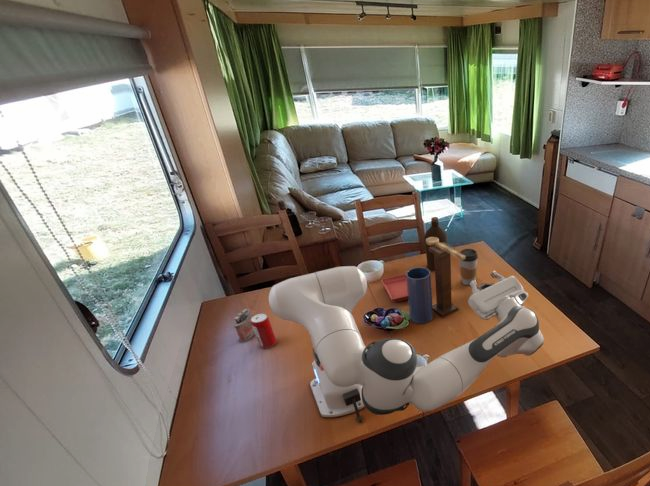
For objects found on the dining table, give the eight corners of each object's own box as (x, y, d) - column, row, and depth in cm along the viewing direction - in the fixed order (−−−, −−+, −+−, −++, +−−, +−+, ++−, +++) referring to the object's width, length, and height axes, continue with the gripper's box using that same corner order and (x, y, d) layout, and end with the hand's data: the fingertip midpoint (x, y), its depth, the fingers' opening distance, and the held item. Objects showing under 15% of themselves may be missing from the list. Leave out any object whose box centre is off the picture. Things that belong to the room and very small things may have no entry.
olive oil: (446, 272, 181) (444, 223, 168) (424, 271, 182) (421, 222, 168) (449, 261, 190) (447, 214, 177) (428, 260, 191) (425, 213, 177)
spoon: (469, 257, 134) (469, 254, 133) (458, 262, 131) (458, 258, 130) (433, 238, 147) (433, 235, 147) (423, 242, 144) (423, 239, 144)
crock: (435, 320, 149) (433, 276, 138) (413, 325, 146) (409, 281, 136) (429, 308, 156) (426, 265, 145) (407, 312, 153) (403, 269, 143)
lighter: (245, 342, 138) (236, 320, 133) (237, 341, 139) (228, 319, 133) (260, 329, 145) (252, 307, 139) (252, 327, 145) (244, 306, 140)
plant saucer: (381, 285, 171) (380, 278, 169) (419, 276, 178) (419, 270, 176) (392, 306, 157) (391, 299, 156) (433, 295, 164) (432, 289, 162)
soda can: (280, 340, 139) (270, 313, 133) (269, 350, 135) (259, 323, 128) (267, 337, 140) (257, 311, 134) (256, 347, 136) (246, 320, 129)
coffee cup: (480, 280, 175) (481, 251, 167) (471, 288, 169) (471, 258, 161) (465, 275, 178) (465, 246, 170) (455, 283, 172) (455, 253, 164)
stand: (458, 309, 155) (457, 248, 140) (442, 317, 151) (439, 254, 136) (445, 301, 160) (443, 241, 145) (430, 308, 156) (426, 247, 141)
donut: (472, 301, 160) (472, 293, 158) (478, 287, 170) (478, 279, 168) (500, 305, 158) (500, 297, 156) (504, 290, 167) (504, 282, 165)
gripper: (480, 326, 120) (455, 292, 124) (523, 302, 132) (499, 272, 136) (487, 317, 116) (461, 282, 120) (531, 293, 127) (507, 261, 131)
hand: (482, 276), depth 128 cm, fingers open, 8 cm apart
